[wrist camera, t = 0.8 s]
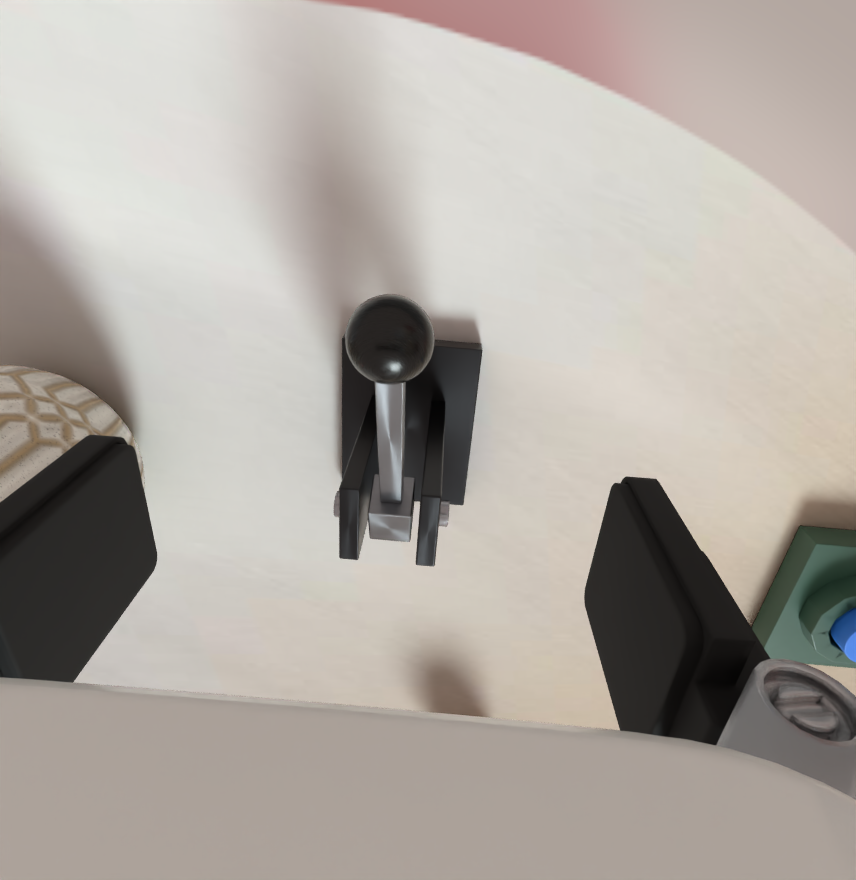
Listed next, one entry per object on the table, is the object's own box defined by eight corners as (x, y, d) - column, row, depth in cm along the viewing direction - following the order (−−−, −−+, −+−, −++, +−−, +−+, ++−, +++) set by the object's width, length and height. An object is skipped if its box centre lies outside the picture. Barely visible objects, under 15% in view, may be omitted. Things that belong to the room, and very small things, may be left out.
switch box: (799, 525, 42) (831, 560, 38) (932, 536, 42) (976, 572, 38) (745, 638, 47) (768, 678, 44) (862, 649, 47) (895, 689, 44)
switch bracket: (345, 332, 36) (294, 413, 25) (481, 343, 36) (492, 430, 25) (345, 485, 42) (303, 609, 31) (463, 495, 42) (465, 623, 31)
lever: (349, 271, 20) (334, 332, 18) (439, 278, 20) (433, 340, 18) (367, 494, 31) (359, 545, 30) (423, 499, 31) (418, 550, 30)
